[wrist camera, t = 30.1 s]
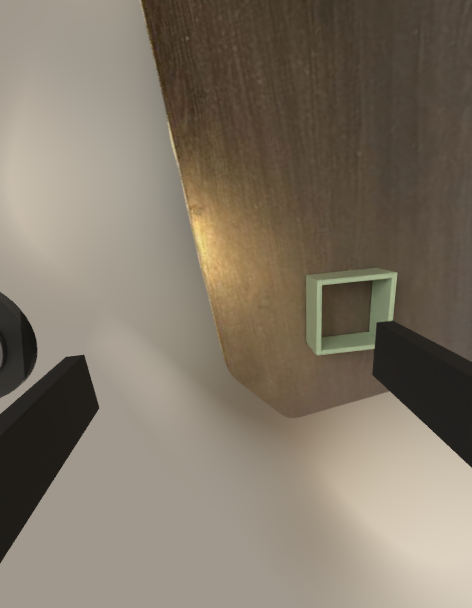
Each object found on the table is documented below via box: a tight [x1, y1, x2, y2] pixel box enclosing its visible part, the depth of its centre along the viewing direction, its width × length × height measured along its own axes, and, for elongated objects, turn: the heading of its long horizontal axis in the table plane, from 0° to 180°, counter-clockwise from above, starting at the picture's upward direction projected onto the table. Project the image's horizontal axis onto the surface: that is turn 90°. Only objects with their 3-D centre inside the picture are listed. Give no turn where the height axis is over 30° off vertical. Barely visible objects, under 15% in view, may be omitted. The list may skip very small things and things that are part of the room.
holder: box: [306, 268, 397, 355], centre depth 43 cm, size 13×13×5 cm
